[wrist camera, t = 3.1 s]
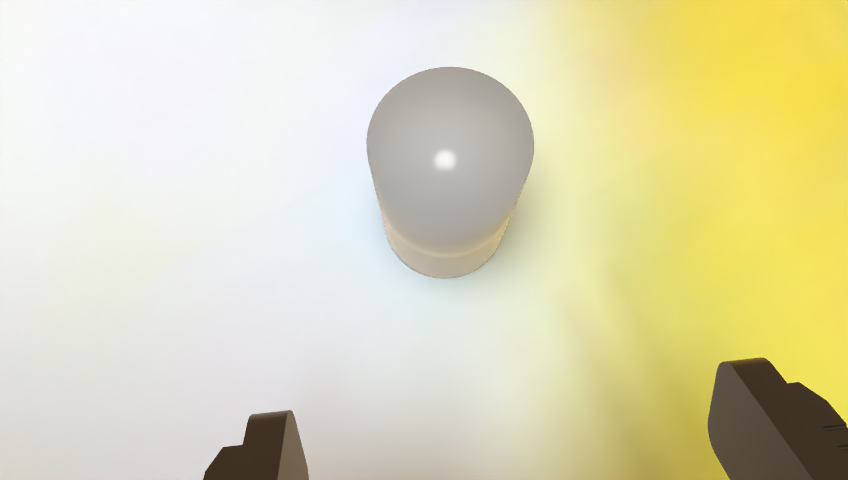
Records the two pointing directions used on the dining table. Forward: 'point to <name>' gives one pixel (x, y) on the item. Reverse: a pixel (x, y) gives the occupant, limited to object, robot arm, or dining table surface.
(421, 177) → the domed grey cylinder
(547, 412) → the dining table surface
